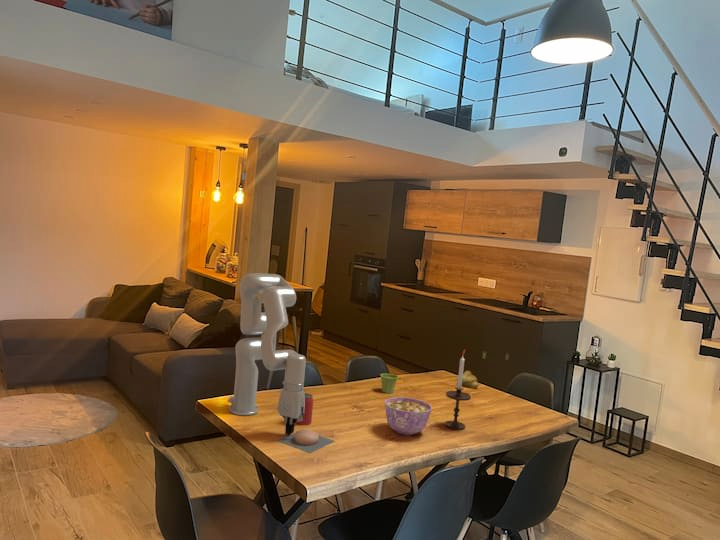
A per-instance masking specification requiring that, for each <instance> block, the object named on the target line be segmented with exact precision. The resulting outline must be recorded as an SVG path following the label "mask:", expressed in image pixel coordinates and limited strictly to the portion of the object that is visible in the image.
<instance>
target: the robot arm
mask: <svg viewBox="0 0 720 540" xmlns="http://www.w3.org/2000/svg"><path fill="white" fill-rule="evenodd" d="M259 294H262V297H261V298H262V301H261V298H260V296H259ZM239 295H240V302H241V304H240V306H241V307H240V332H241V333H242V334H243V335H246V336H256V335H257V336H259V335H261V336H260V337H245V338H242V339H240V340H238V341H237V342H236V343H235V359H236V360H235V363H236V365H235V378H234V389H233V396H230V397H229V398H228V399H227V403H230V406H229V407H228V412H230V413H231V414H233V415H238V416H253V415H256V414H257V413H259V409H260V408H259V406H257V405H256V403H257V401H256V400H257V393H258V383H259V382H258V381H259V368H258V366H257V364H256V362H255V361H260V360H262V363H263V364H262V365H263V366H264V367H265V369H266V370H268V371H279V370H280V371H281V370H285V372H284V380H283V381H282V382H281V383H282V385H283V387H282V388H281V390H280V395H279V396H278V397H279V398H278V401H277V413H278V414H279V416H281V417H282V418H283V420H284V423H285V430H284V433H285V435H287V436H289V435H291V434H293V433H295V431H294V430H295V426H296V425H295V424H297V423H296V422H300V421H303V417H302V416H304V410H305V394H304V393H305V391H304V385H305V384H304V383H305V376H306V375H305V373H306V364H307V359H306V355H303V354H300V353H297V352H296V351H295V350H294V349H280V350H278V349H277V350H276V348H277V347H276V346H277V332H278V331H280V330H282V329H284V328H285V327H287V326H288V325H289V317H288V313H287V308H290V307H293V306H295V304H296V301H297V293H296V291H295V289H294V288H293V286H292V285H291V284H289V282H288V281H287V280H286V279H285V278H284V277H283V276H282V275H279V274H276V273H263V272H262V273H261V272H255V273H253V272H252V273H248V274H245V275H244V276H242V278H241V280H240V282H239ZM262 303H263V308H264V312H262Z"/></svg>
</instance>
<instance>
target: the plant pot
mask: <svg viewBox="0 0 720 540" xmlns="http://www.w3.org/2000/svg"><path fill="white" fill-rule="evenodd" d="M379 375H380V379H381V392H383V393H385V394H392V393H394V392H395V391H394V390H395V387H396V384H397V381H398V378H399V375H396V374H393V373H380V374H379Z"/></svg>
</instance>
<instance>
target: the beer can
mask: <svg viewBox="0 0 720 540" xmlns="http://www.w3.org/2000/svg"><path fill="white" fill-rule="evenodd" d="M304 394H305V410H304V416H302V417H303V421H300V422H296V423H295V424H297V425H300V426H309V425H311V424H312V420H313V419H312V418H313V407H314V398H313V395H312V394H311V393H308V392H307V393H305V392H304Z"/></svg>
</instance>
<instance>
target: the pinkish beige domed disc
mask: <svg viewBox="0 0 720 540" xmlns="http://www.w3.org/2000/svg"><path fill="white" fill-rule="evenodd" d="M294 433H295V437H294V441H295V442H296V443H297V444H300V445H306V446H310V445H315V444H317V443H318V436H320V435H319V433H318V432H317V431H314V430H312V429H311V430H310V429H299V430H297V431H294Z"/></svg>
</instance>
